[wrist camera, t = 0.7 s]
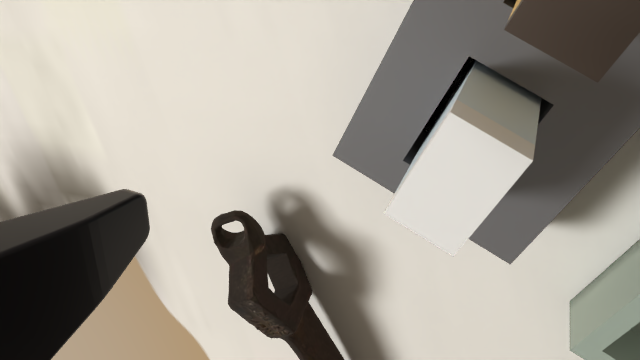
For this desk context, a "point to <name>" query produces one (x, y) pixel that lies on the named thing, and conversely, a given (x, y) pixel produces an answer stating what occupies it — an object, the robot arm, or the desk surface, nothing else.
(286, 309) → the wrench
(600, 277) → the parts tray
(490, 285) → the desk surface
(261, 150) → the desk surface
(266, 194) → the desk surface
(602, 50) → the tan and brown block
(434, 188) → the white rectangular block
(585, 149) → the fuse block
